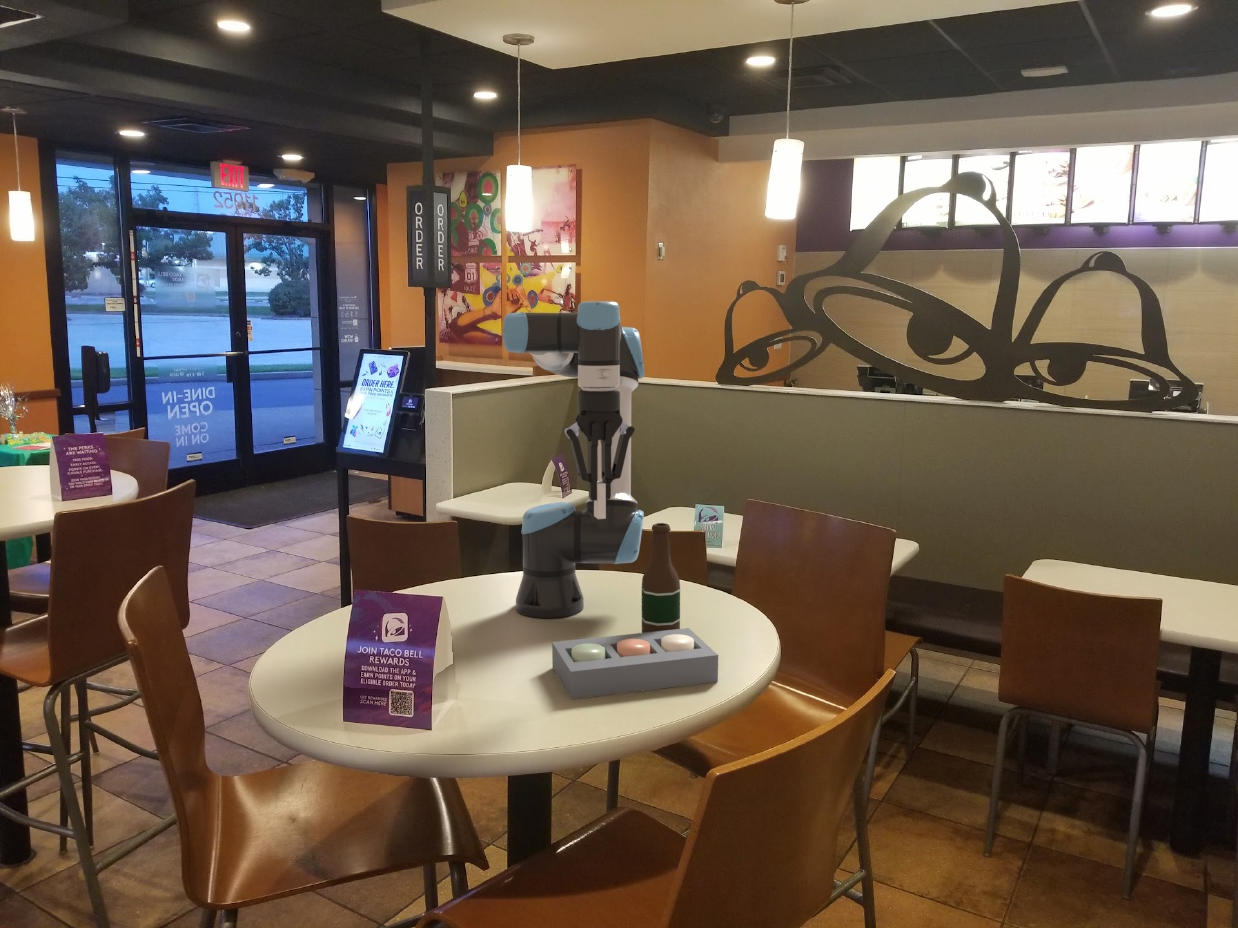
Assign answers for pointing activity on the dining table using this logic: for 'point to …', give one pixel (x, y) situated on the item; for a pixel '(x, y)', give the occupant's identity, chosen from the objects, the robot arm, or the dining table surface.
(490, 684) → the dining table surface
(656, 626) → the beer bottle
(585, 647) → the button sage
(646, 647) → the button terracotta
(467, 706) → the dining table surface
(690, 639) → the button cream
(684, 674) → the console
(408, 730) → the dining table surface
